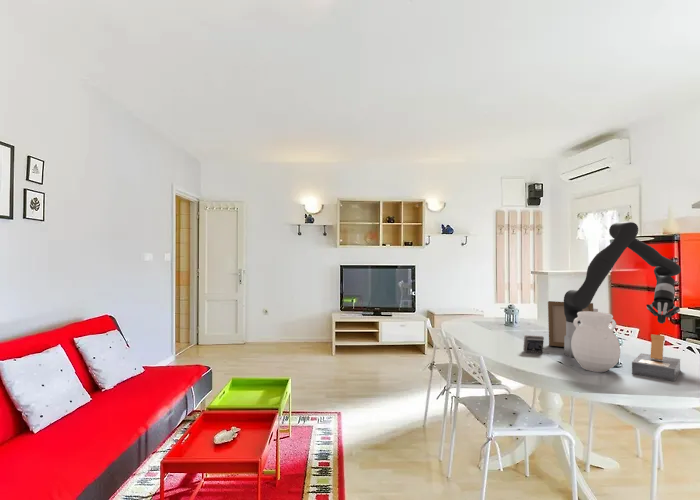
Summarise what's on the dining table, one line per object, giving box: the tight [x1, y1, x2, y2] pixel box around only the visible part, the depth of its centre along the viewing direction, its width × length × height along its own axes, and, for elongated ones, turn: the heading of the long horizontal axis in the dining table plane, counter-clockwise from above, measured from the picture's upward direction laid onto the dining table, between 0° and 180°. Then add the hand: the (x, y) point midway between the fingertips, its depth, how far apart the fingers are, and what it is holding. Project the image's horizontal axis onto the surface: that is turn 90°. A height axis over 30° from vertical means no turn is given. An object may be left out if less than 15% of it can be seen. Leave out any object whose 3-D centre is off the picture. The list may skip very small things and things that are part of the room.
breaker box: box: [631, 352, 681, 382], centre depth 167 cm, size 14×22×5 cm, turn 134°
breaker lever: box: [650, 333, 666, 361], centre depth 168 cm, size 5×3×11 cm, turn 44°
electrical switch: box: [523, 334, 545, 355], centre depth 198 cm, size 9×5×9 cm, turn 78°
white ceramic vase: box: [571, 311, 621, 373], centre depth 170 cm, size 19×18×25 cm
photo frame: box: [547, 300, 594, 348], centre depth 214 cm, size 15×22×25 cm
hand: (661, 322), depth 178 cm, fingers closed
